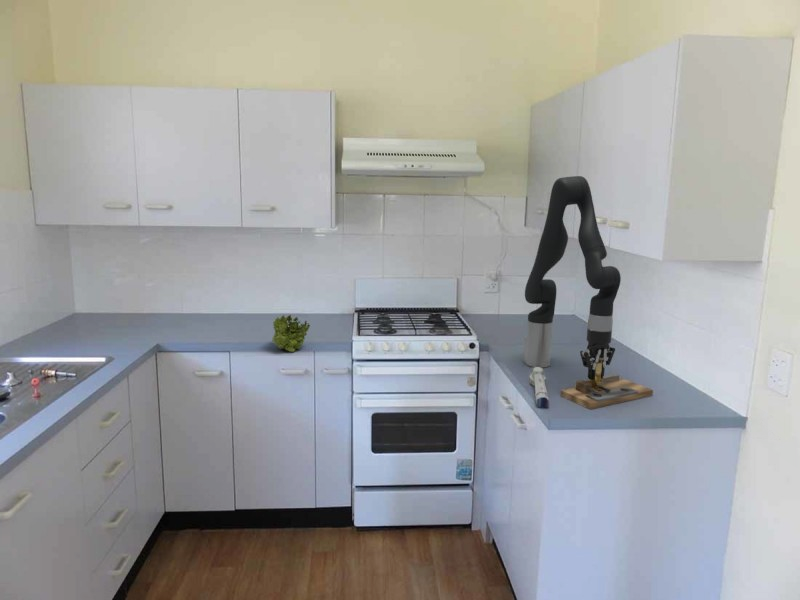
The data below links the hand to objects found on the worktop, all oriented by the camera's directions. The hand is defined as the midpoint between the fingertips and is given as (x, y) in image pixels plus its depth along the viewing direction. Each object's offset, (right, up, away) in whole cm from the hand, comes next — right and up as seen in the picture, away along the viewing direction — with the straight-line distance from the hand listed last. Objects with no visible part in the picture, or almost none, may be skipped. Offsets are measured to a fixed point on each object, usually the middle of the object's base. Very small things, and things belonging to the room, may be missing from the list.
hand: (595, 378), depth 187 cm
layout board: (+4, -6, 0) cm, 7 cm away
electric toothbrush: (-18, -6, +1) cm, 19 cm away
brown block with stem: (-4, -4, -3) cm, 7 cm away
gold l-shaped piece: (+1, -4, -1) cm, 4 cm away
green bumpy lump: (-110, +5, +49) cm, 120 cm away
